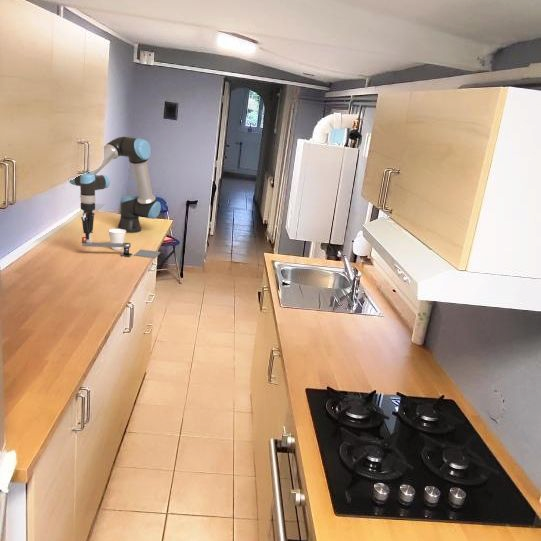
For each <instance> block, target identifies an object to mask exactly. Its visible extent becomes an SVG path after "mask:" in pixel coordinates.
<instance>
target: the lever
mask: <svg viewBox="0 0 541 541" xmlns="http://www.w3.org/2000/svg"><path fill="white" fill-rule="evenodd" d="M131 246H132V245H131V243H130V242H124V243H111V242H92V241H91V242H86V237H85V236H82V237H81V247H86V248H87V247H90V248H91V247H92V248H94V247H95V248H96V247H97V248H98V247H99V248H111V247H123V249H124V248H129V249H130V248H131Z"/></svg>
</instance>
